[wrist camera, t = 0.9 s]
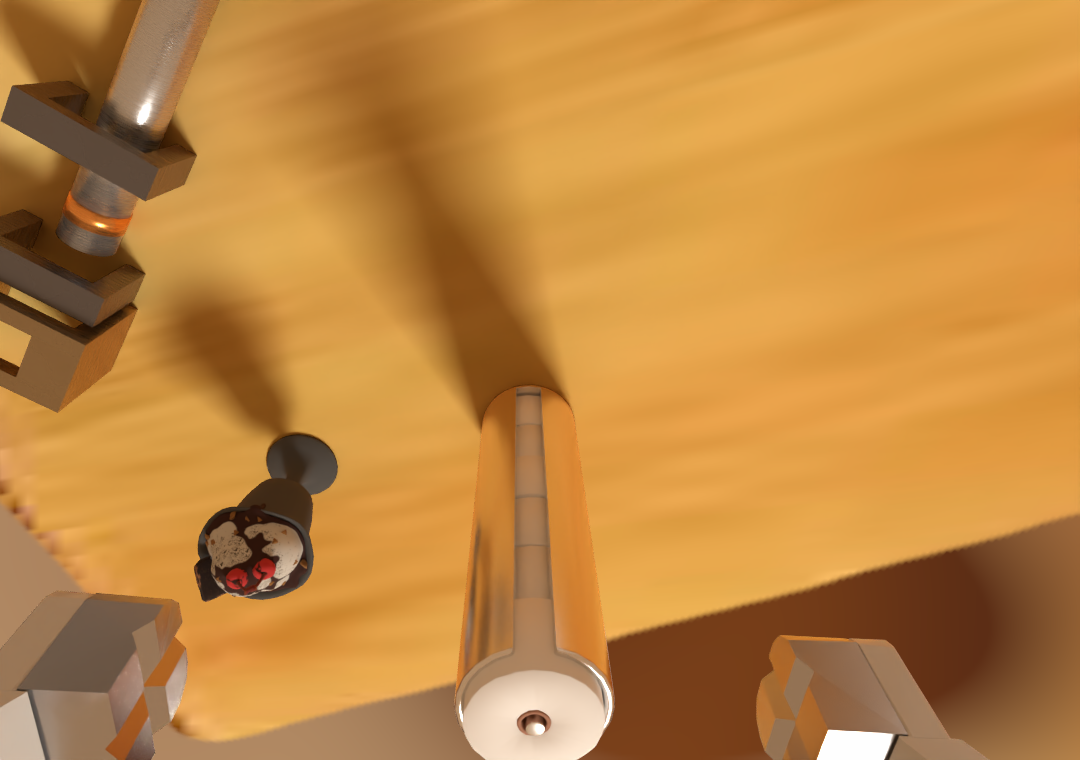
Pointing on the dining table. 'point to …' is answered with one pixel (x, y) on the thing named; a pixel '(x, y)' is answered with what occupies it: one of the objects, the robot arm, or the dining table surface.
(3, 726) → the robot arm
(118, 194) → the tube
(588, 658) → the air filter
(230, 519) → the sundae
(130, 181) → the collar
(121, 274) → the collar
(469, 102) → the dining table surface
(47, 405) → the aperture bridge
